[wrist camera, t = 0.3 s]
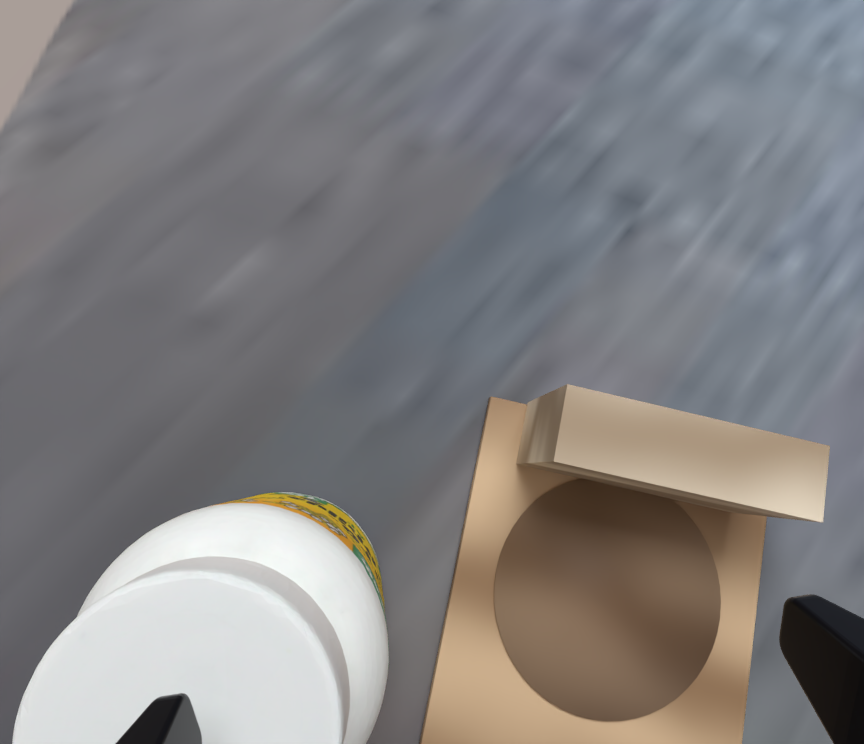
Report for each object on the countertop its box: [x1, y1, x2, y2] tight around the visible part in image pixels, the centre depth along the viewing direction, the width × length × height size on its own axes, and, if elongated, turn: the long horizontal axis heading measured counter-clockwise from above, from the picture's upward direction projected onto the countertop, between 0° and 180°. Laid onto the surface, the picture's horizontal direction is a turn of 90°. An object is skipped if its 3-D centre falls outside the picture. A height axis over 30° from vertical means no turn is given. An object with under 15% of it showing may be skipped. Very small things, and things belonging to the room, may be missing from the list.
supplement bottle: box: [12, 492, 389, 744], centre depth 16 cm, size 7×7×13 cm
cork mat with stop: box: [419, 384, 830, 744], centre depth 21 cm, size 16×12×5 cm
